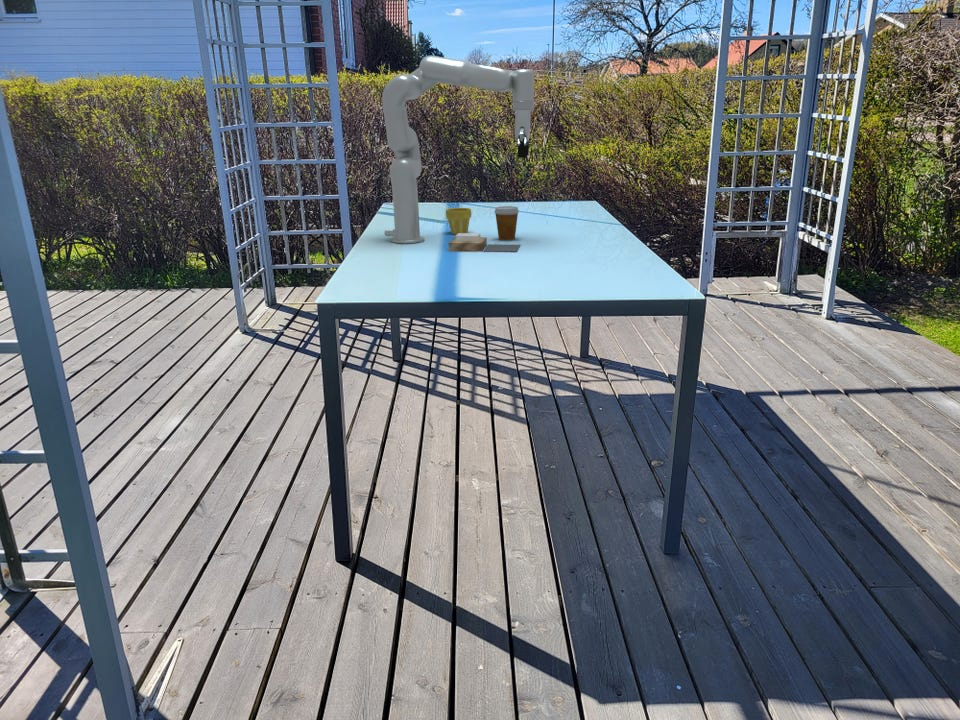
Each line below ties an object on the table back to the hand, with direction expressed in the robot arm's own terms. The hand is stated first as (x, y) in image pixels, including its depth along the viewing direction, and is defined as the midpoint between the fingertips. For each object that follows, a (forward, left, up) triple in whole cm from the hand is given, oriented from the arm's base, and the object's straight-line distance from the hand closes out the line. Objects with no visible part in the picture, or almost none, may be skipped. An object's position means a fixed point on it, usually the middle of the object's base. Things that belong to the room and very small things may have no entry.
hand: (523, 156), depth 258 cm
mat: (-6, -14, -31) cm, 35 cm away
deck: (-19, -14, -31) cm, 39 cm away
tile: (-19, -14, -28) cm, 37 cm away
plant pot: (-28, +19, -31) cm, 46 cm away
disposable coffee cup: (-7, +6, -31) cm, 33 cm away
